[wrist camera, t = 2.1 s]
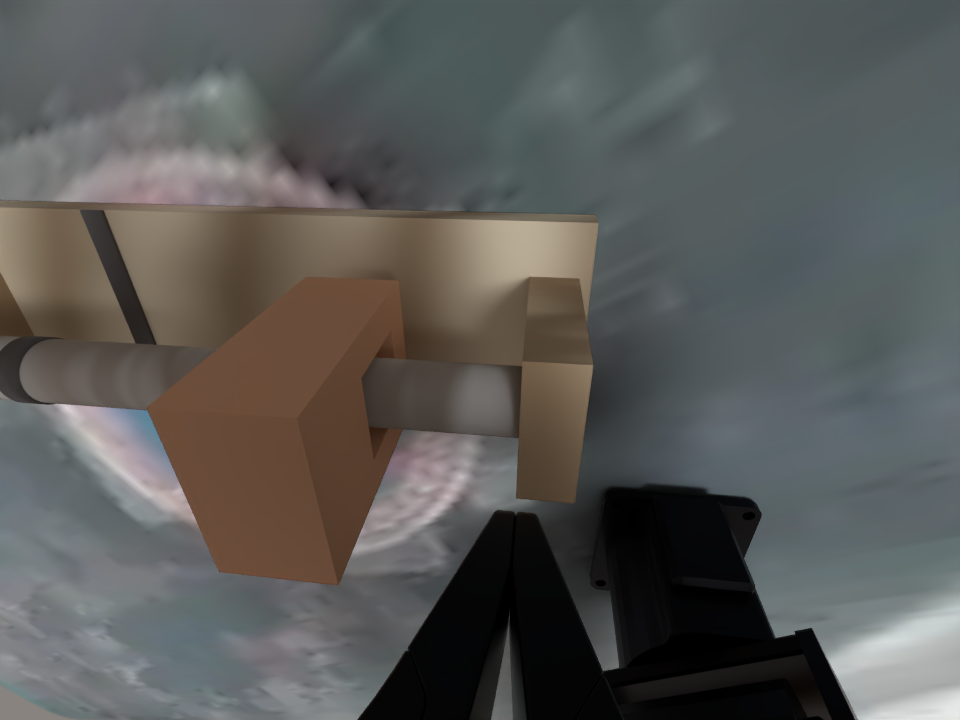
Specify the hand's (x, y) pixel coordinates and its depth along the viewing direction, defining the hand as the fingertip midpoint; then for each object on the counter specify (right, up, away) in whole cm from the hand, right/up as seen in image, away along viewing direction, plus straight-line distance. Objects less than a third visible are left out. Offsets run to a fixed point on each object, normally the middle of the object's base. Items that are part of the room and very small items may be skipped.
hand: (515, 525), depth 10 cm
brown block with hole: (-5, +4, +6) cm, 9 cm away
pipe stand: (-9, +5, +9) cm, 14 cm away
